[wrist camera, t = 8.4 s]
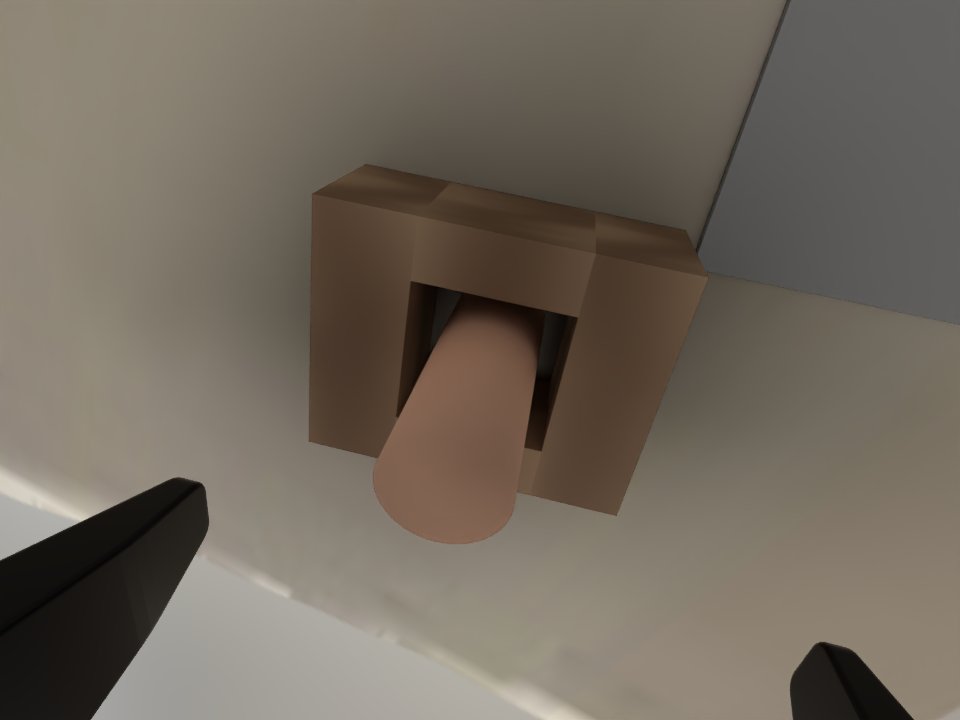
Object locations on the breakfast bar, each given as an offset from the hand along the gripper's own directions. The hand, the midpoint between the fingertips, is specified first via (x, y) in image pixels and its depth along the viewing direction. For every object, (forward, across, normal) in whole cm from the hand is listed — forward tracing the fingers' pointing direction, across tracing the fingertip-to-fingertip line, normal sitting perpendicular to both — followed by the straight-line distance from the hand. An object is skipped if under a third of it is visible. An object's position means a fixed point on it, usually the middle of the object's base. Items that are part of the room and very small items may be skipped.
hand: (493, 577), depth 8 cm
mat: (+12, -8, -5) cm, 16 cm away
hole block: (+12, +2, +2) cm, 12 cm away
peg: (+12, +1, +2) cm, 12 cm away
